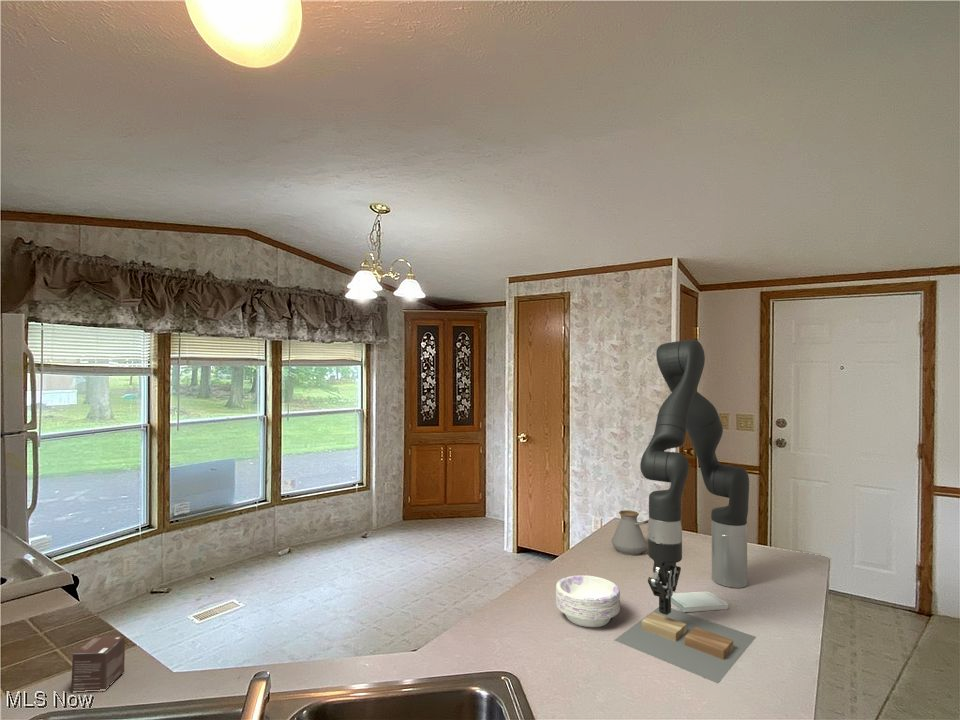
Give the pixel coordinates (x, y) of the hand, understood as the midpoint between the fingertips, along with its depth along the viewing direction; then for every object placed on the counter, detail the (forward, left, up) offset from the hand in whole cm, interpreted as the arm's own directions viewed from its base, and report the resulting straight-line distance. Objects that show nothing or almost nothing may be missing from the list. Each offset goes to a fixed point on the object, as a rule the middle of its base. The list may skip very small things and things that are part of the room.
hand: (664, 612), depth 115 cm
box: (+96, -68, -4) cm, 117 cm away
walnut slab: (-2, +10, -3) cm, 11 cm away
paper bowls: (+8, -16, -4) cm, 18 cm away
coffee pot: (-41, -27, -4) cm, 50 cm away
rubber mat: (+1, +5, -4) cm, 6 cm away
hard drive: (-18, 0, -4) cm, 19 cm away
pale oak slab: (-2, 0, -3) cm, 4 cm away
